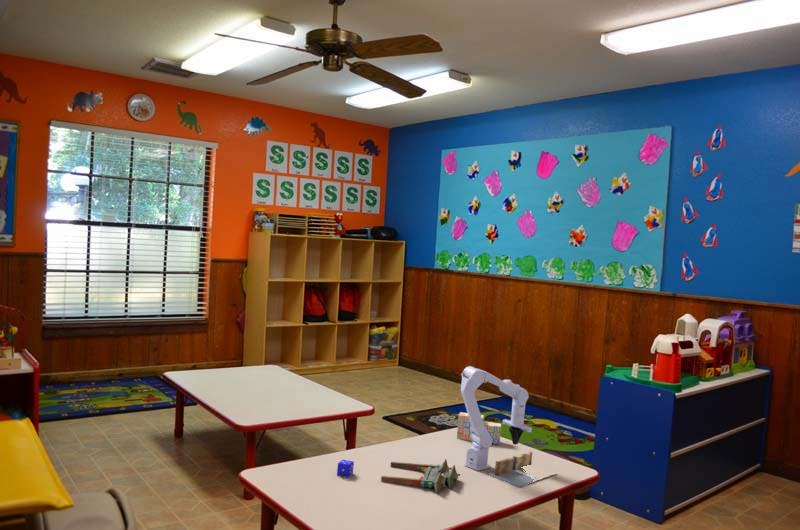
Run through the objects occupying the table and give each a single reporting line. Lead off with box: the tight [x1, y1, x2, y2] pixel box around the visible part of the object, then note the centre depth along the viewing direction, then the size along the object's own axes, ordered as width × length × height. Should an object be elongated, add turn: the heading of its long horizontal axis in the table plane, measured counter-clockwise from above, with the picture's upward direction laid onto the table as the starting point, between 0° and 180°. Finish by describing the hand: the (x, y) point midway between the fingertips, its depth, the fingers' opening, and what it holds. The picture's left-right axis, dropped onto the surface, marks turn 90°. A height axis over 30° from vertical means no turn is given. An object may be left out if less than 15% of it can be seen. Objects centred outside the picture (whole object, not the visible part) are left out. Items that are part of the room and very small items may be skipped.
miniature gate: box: [380, 458, 461, 495], centre depth 247 cm, size 27×6×30 cm
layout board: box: [487, 467, 537, 488], centre depth 261 cm, size 28×16×1 cm, turn 134°
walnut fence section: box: [494, 455, 516, 476], centre depth 261 cm, size 14×2×6 cm, turn 134°
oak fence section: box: [515, 451, 533, 469], centre depth 270 cm, size 12×2×5 cm, turn 134°
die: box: [336, 459, 355, 478], centre depth 245 cm, size 5×5×5 cm
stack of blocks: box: [456, 411, 502, 445], centre depth 306 cm, size 21×6×12 cm, turn 76°
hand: (515, 443), depth 273 cm, fingers closed
